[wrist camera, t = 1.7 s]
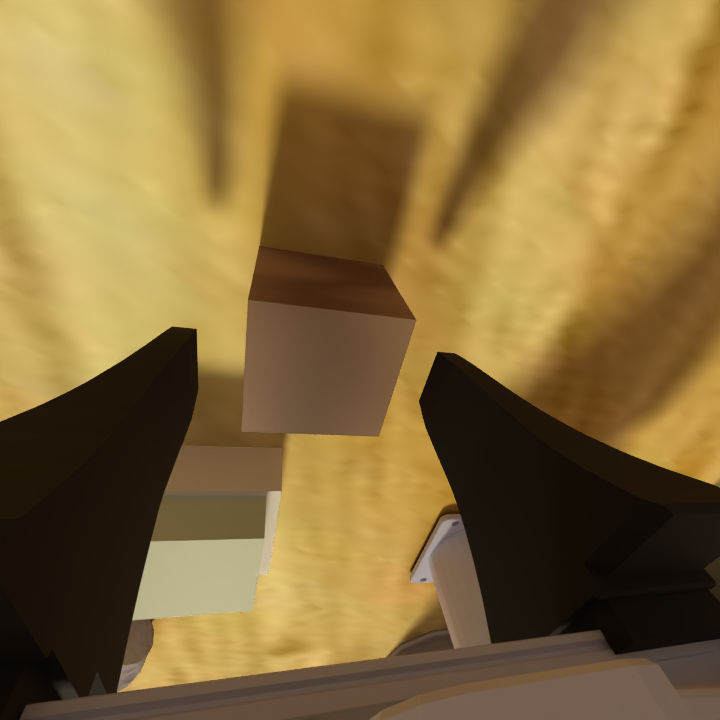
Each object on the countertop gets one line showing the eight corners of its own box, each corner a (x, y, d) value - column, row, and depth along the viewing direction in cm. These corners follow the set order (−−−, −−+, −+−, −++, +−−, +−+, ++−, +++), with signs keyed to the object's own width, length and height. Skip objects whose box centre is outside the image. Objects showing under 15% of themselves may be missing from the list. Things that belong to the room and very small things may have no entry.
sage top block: (266, 495, 16) (264, 538, 15) (254, 568, 19) (252, 611, 18) (112, 494, 15) (90, 542, 13) (126, 574, 18) (110, 621, 16)
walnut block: (382, 264, 14) (416, 319, 10) (358, 362, 16) (378, 436, 13) (259, 245, 13) (248, 299, 9) (252, 353, 15) (241, 431, 11)
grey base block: (282, 441, 19) (281, 491, 16) (270, 523, 22) (268, 574, 20) (127, 436, 17) (100, 491, 14) (142, 526, 21) (122, 582, 18)
